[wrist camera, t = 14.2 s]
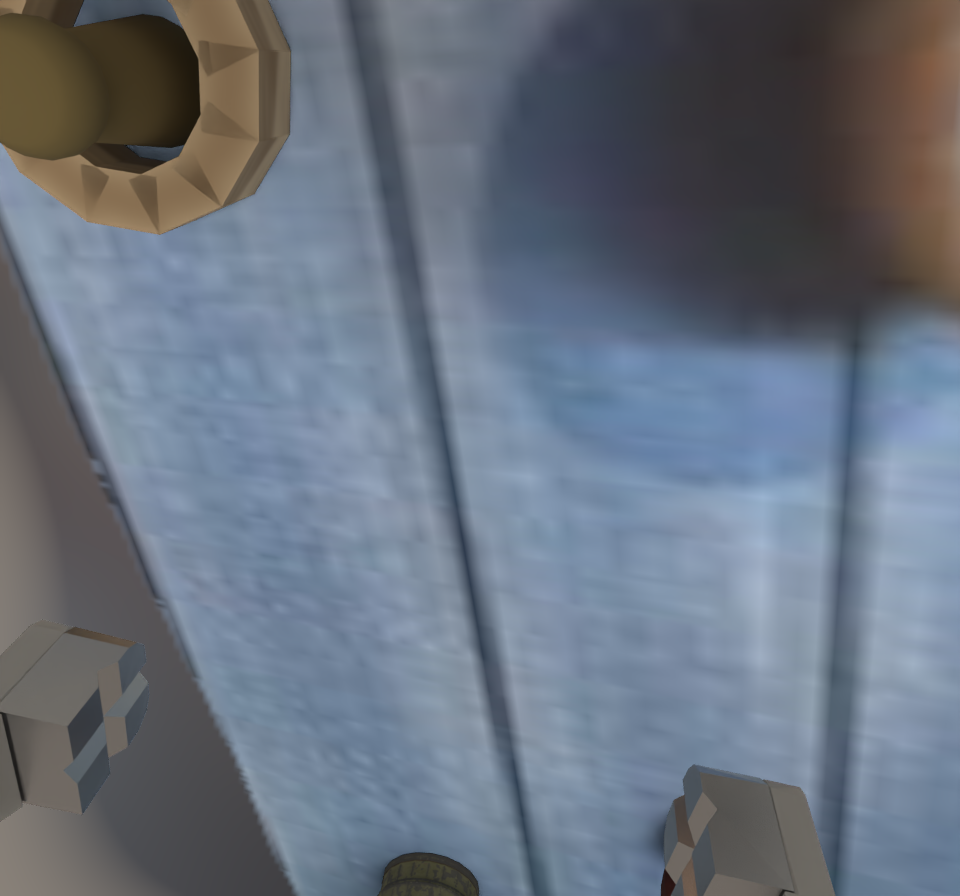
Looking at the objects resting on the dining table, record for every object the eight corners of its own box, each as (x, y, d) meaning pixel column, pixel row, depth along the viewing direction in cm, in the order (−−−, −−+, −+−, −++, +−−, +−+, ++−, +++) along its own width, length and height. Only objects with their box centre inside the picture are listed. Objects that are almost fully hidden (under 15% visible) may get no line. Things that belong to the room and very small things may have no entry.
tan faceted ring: (-3, -123, 34) (-71, -144, 30) (293, -77, 33) (258, -94, 30) (41, 192, 40) (-11, 204, 37) (288, 235, 40) (259, 252, 36)
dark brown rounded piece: (97, 127, 38) (-66, 149, 29) (101, -3, 36) (-80, -27, 26) (208, 162, 39) (83, 196, 29) (220, 36, 36) (85, 26, 26)
